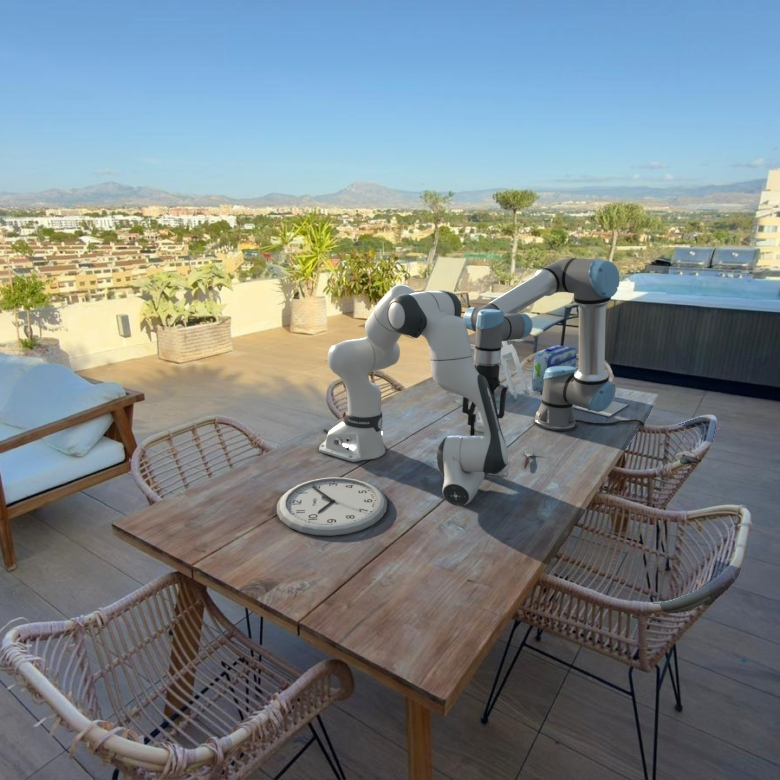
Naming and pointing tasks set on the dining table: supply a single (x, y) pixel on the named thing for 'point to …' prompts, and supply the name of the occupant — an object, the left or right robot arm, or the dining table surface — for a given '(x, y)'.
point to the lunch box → (551, 363)
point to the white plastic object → (508, 354)
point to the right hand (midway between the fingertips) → (481, 436)
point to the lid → (478, 426)
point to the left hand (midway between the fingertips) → (480, 452)
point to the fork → (528, 455)
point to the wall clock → (331, 506)
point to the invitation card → (607, 409)
